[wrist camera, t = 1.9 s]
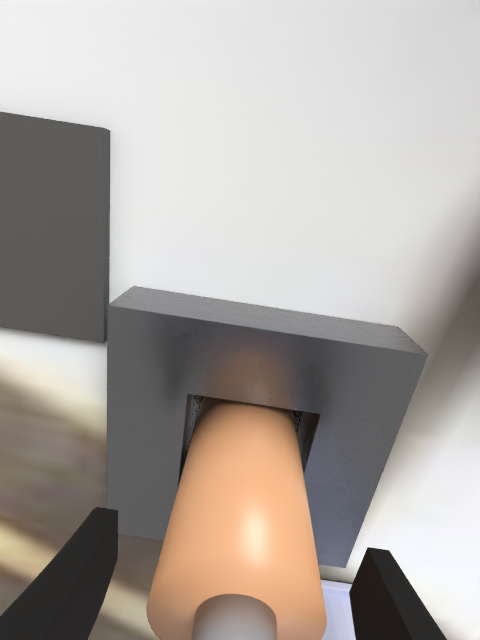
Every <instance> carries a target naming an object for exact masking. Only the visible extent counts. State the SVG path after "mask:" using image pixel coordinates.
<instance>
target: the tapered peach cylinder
mask: <svg viewBox="0 0 480 640" xmlns="http://www.w3.org/2000/svg"><path fill="white" fill-rule="evenodd" d="M147 617H148V621H149V624H150V626H151V628H152V630H153V631H154V633H155V634H156V636H157V637H158V638H159V639H160V640H321V639H322V637H323V635H324V633H325V630H326V626H327V616H326V609H325V603H324V597H323V591H322V585H321V579H320V573H319V566H318V560H317V554H316V548H315V542H314V536H313V530H312V524H311V518H310V511H309V505H308V499H307V493H306V487H305V481H304V475H303V469H302V463H301V456H300V450H299V444H298V438H297V432H296V426H295V420H294V414H293V410H291V409H285V408H278V407H272V406H265V405H259V404H252V403H245V402H239V401H232V400H226V399H219V398H213V397H206V396H204V398H203V400H202V402H201V405H200V409H199V413H198V416H197V420H196V424H195V428H194V431H193V435H192V439H191V442H190V446H189V450H188V453H187V457H186V461H185V465H184V468H183V472H182V476H181V479H180V483H179V487H178V490H177V494H176V498H175V502H174V505H173V509H172V513H171V516H170V520H169V524H168V527H167V531H166V535H165V538H164V542H163V546H162V550H161V553H160V557H159V561H158V564H157V568H156V572H155V575H154V579H153V583H152V587H151V590H150V594H149V598H148V602H147Z"/></svg>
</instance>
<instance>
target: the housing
mask: <svg viewBox="0 0 480 640" xmlns="http://www.w3.org/2000/svg"><path fill="white" fill-rule="evenodd" d="M427 356H428V354H427V353H426V352H425V351H424V350H423V349H422V348H421V347H419V346H418V345H417V344H416V343H415V342H414V341H413V340H412V339H411V338H410V337H409V336H408V335H407V334H406V333H405V332H403V331H402V330H401V329H400V328H399V327H394V326H387V325H381V324H374V323H368V322H361V321H355V320H349V319H342V318H336V317H329V316H323V315H316V314H310V313H303V312H297V311H290V310H284V309H278V308H271V307H265V306H258V305H252V304H245V303H239V302H232V301H226V300H219V299H213V298H207V297H200V296H194V295H187V294H181V293H174V292H168V291H161V290H155V289H148V288H142V287H136V286H133V287H132V288H130V289H129V290H127V291H126V292H125V293H123V294H122V295H121V296H119V297H118V298H117V299H115V300H114V301H113V302H111V303H110V304H109V305H108V346H107V509H113V510H118V534H121V535H128V536H135V537H141V538H148V539H154V540H161V541H164V538H165V535H166V531H167V527H168V524H169V520H170V516H171V513H172V509H173V505H174V502H175V498H176V494H177V490H178V487H179V483H180V479H181V476H182V472H183V468H184V465H185V461H186V457H187V453H188V450H189V442H190V433H191V424H192V415H193V407H194V398H195V395H200V396H206V397H213V398H219V399H226V400H232V401H239V402H245V403H252V404H259V405H265V406H272V407H278V408H285V409H291V410H298V411H302V415H301V419H300V423H299V427H298V431H297V438H298V444H299V450H300V456H301V463H302V469H303V475H304V481H305V487H306V493H307V499H308V505H309V511H310V518H311V524H312V530H313V536H314V542H315V548H316V554H317V560H318V564H321V565H327V566H334V567H341V568H345V567H346V565H347V562H348V560H349V557H350V554H351V552H352V549H353V547H354V544H355V542H356V539H357V536H358V534H359V531H360V529H361V526H362V524H363V521H364V518H365V516H366V513H367V511H368V508H369V506H370V503H371V500H372V498H373V495H374V493H375V490H376V488H377V485H378V482H379V480H380V477H381V475H382V472H383V470H384V467H385V464H386V462H387V459H388V457H389V454H390V452H391V449H392V446H393V444H394V441H395V439H396V436H397V434H398V431H399V428H400V426H401V423H402V421H403V418H404V416H405V413H406V410H407V408H408V405H409V403H410V400H411V398H412V395H413V392H414V390H415V387H416V385H417V382H418V380H419V377H420V374H421V372H422V369H423V367H424V364H425V362H426V359H427Z"/></svg>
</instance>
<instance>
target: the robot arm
mask: <svg viewBox="0 0 480 640" xmlns="http://www.w3.org/2000/svg"><path fill="white" fill-rule="evenodd" d="M117 552H118V510H113V509H106V508H100V507H97V508H95V509H93V510H92V512H91V513H90V514H89V516H88V517H87V518H86V520H85V521H84V522H83V523H82V525H81V526H80V527H79V528H78V530H77V531H76V532H75V533H74V535H73V536H72V537H71V538H70V539H69V541H68V542H67V543H66V544H65V545H64V547H63V548H62V549H61V550H60V551H59V552H58V554H57V555H56V556H55V557H54V558H53V559H52V561H51V562H50V563H49V564H48V565H47V566H46V567H45V568H44V570H43V571H42V572H41V573H40V574H39V575H38V576H37V577H36V579H35V580H34V581H33V582H32V583H31V584H30V585H29V586H28V588H27V589H26V590H25V591H24V592H23V593H22V594H21V595H20V596H19V597H18V598H17V599H16V600H15V601H14V603H13V604H12V605H11V606H10V607H9V608H8V609H7V610H6V611H5V612H4V613H3V614H2V615H1V616H0V640H88V637H89V635H90V632H91V630H92V628H93V625H94V623H95V620H96V618H97V616H98V613H99V611H100V609H101V606H102V604H103V601H104V598H105V595H106V592H107V589H108V586H109V583H110V580H111V577H112V574H113V571H114V567H115V564H116V561H117ZM321 585H322V591H323V597H324V603H325V609H326V616H327V626H326V630H325V633H324V635H323V637H322V639H321V640H447V639H446V637H445V636H444V634H443V633H442V631H441V630H440V629H439V627H438V625H437V624H436V622H435V621H434V619H433V618H432V616H431V615H430V613H429V612H428V610H427V609H426V607H425V606H424V604H423V603H422V601H421V600H420V598H419V596H418V595H417V593H416V592H415V590H414V589H413V587H412V586H411V584H410V582H409V581H408V579H407V578H406V576H405V575H404V573H403V571H402V570H401V568H400V567H399V565H398V564H397V562H396V560H395V559H394V557H393V556H392V554H391V553H390V551H389V550H382V549H376V548H369V547H368V548H367V550H366V553H365V555H364V558H363V560H362V562H361V565H360V567H359V570H358V572H357V574H356V577H355V579H354V582H353V584H347V583H340V582H334V581H327V580H321Z"/></svg>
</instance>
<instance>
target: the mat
mask: <svg viewBox="0 0 480 640" xmlns="http://www.w3.org/2000/svg"><path fill="white" fill-rule="evenodd" d="M109 211H110V131H109V130H107V129H105V128H100V127H94V126H87V125H81V124H75V123H68V122H62V121H56V120H49V119H43V118H37V117H30V116H24V115H18V114H11V113H5V112H0V327H5V328H12V329H18V330H25V331H31V332H38V333H44V334H51V335H57V336H64V337H70V338H77V339H83V340H90V341H96V342H103V343H104V342H105V341H106V340H107V339H108V305H109Z"/></svg>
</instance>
